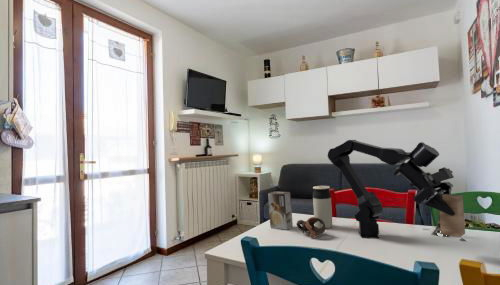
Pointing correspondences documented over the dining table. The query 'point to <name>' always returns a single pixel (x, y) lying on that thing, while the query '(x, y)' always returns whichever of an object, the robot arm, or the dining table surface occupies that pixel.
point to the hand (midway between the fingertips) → (456, 213)
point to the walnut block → (456, 222)
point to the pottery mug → (311, 226)
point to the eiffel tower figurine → (440, 230)
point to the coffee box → (280, 210)
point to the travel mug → (322, 206)
